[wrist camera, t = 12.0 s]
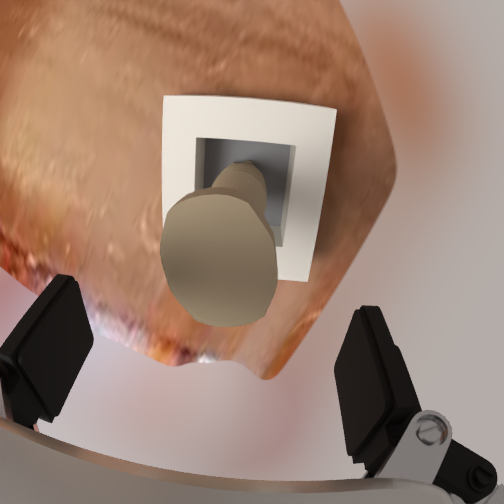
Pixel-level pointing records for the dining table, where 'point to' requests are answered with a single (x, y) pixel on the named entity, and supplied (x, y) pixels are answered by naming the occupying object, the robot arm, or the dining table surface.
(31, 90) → the dining table surface
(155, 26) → the dining table surface
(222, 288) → the handle
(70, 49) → the dining table surface
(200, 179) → the socket stand
